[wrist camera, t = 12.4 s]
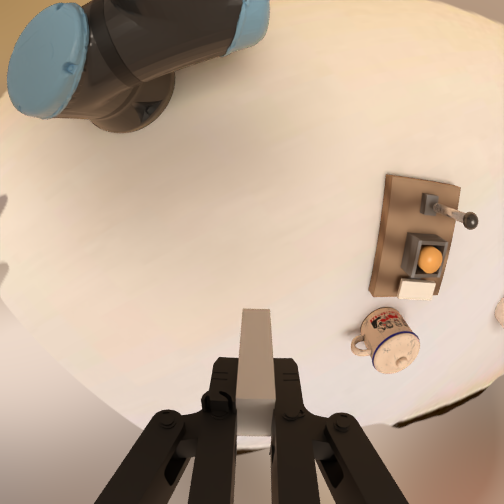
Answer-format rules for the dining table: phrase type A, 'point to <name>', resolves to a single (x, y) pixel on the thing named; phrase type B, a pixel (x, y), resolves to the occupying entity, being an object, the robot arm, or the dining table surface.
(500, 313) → the foam cup
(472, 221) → the toggle lever
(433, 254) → the push button
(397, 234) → the switch panel
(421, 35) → the dining table surface
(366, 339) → the teacup with lid
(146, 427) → the robot arm
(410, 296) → the rocker switch
